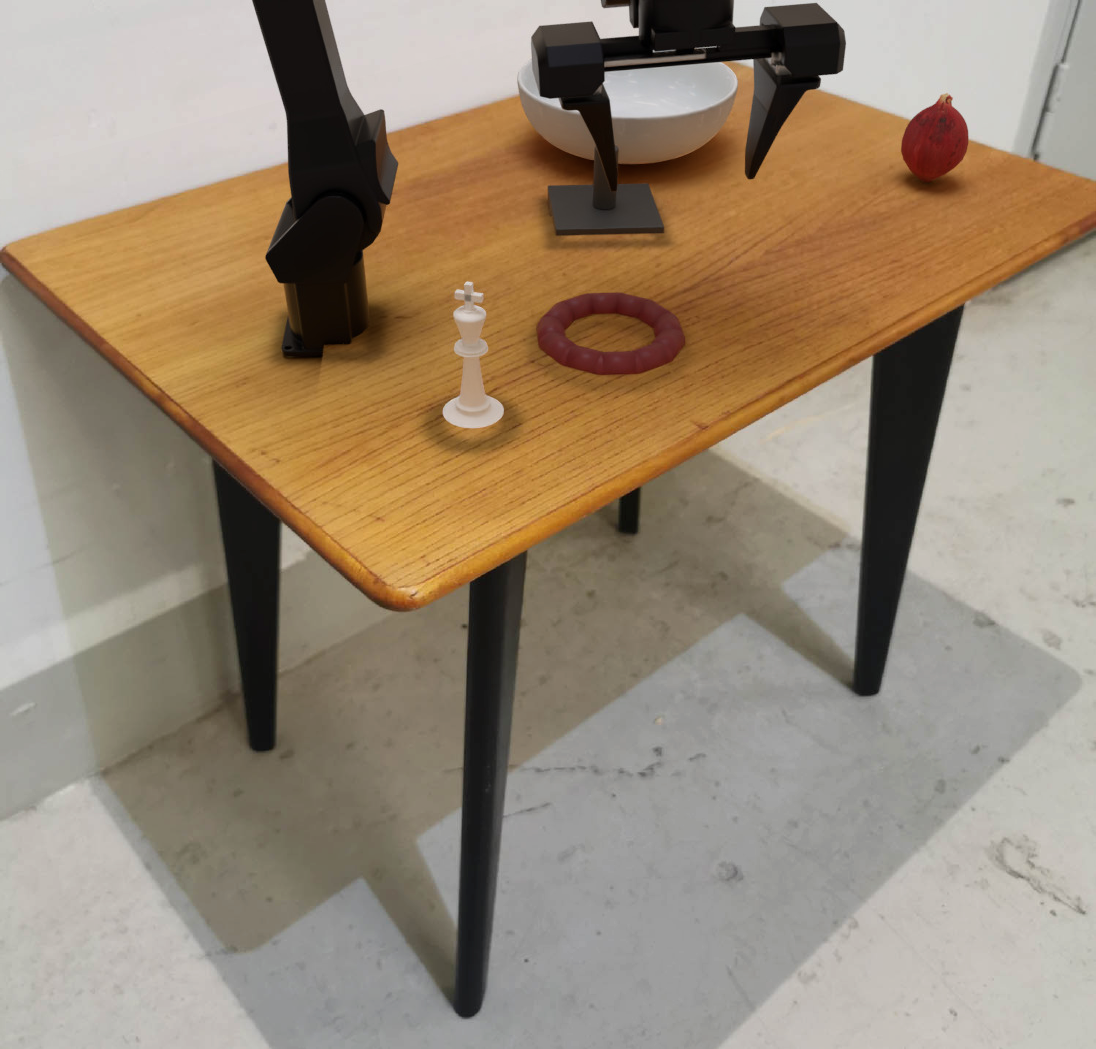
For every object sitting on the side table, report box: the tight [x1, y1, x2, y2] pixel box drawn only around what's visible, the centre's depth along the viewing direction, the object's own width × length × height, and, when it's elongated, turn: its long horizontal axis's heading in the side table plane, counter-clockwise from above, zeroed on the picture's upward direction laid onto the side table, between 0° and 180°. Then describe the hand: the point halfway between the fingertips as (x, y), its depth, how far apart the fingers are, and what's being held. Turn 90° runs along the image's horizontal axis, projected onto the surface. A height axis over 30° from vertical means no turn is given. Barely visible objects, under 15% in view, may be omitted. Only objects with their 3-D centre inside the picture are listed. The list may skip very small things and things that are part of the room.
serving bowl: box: [516, 50, 739, 165], centre depth 108 cm, size 21×21×7 cm
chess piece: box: [442, 281, 505, 429], centre depth 70 cm, size 5×5×10 cm
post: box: [546, 145, 665, 236], centre depth 95 cm, size 9×9×6 cm
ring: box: [535, 291, 686, 376], centre depth 80 cm, size 10×10×2 cm
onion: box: [900, 92, 969, 183], centre depth 102 cm, size 6×6×8 cm
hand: (681, 183), depth 75 cm, fingers open, 9 cm apart
